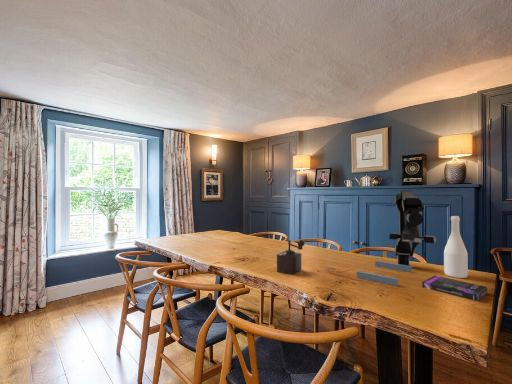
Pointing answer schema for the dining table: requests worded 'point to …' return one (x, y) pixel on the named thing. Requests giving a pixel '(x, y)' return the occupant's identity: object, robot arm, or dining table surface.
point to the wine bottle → (455, 253)
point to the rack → (383, 278)
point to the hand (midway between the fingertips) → (411, 255)
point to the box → (455, 287)
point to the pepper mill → (290, 260)
